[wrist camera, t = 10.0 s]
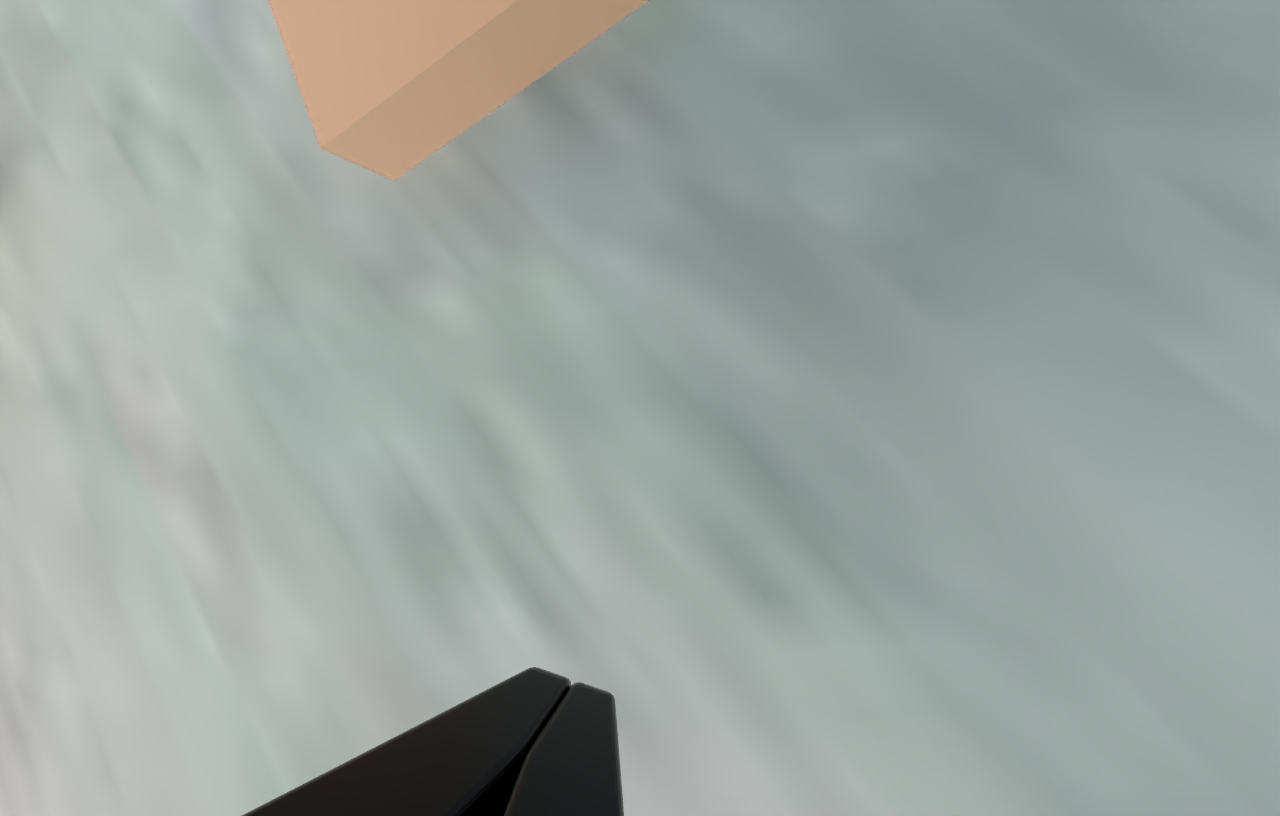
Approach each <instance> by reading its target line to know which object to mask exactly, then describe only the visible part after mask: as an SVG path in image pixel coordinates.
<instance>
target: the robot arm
mask: <svg viewBox="0 0 1280 816" xmlns="http://www.w3.org/2000/svg"><path fill="white" fill-rule="evenodd" d="M242 816H624V810H623V797H622V785H621V772H620V759H619V746H618V733H617V720H616V707H615V699H614V696H613V695H612V694H611V693H609V692H607V691H604V690H601V689H598V688H595V687H592V686H589V685H586V684H584V683H579V682H578V683H575V684H573V685H572V686H571V682H570V680H569V679H568V678H566V677H563V676H560V675H557V674H555V673H552V672H549V671H546V670H543V669H540V668H536V667H533V668H529V669H527V670H525V671H523V672H521V673H519V674H517V675H515V676H513V677H511V678H509V679H507V680H505V681H503V682H501V683H499V684H497V685H495V686H493V687H491V688H490V689H488V690H486V691H484V692H482V693H480V694H478V695H476V696H474V697H472V698H470V699H468V700H466V701H464V702H462V703H460V704H458V705H456V706H455V707H453V708H451V709H449V710H447V711H445V712H443V713H441V714H439V715H437V716H435V717H433V718H431V719H429V720H427V721H425V722H423V723H421V724H419V725H418V726H416V727H414V728H412V729H410V730H408V731H406V732H404V733H402V734H400V735H398V736H396V737H394V738H392V739H390V740H388V741H386V742H384V743H382V744H381V745H379V746H377V747H375V748H373V749H371V750H369V751H367V752H365V753H363V754H361V755H359V756H357V757H355V758H353V759H351V760H349V761H347V762H345V763H344V764H342V765H340V766H338V767H336V768H334V769H332V770H330V771H328V772H326V773H324V774H322V775H320V776H318V777H316V778H314V779H312V780H310V781H309V782H307V783H305V784H303V785H301V786H299V787H297V788H295V789H293V790H291V791H289V792H287V793H285V794H283V795H281V796H279V797H277V798H275V799H273V800H272V801H270V802H268V803H266V804H264V805H262V806H260V807H258V808H256V809H254V810H252V811H250V812H248V813H246V814H244V815H242Z"/></svg>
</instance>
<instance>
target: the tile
mask: <svg viewBox="0 0 1280 816" xmlns="http://www.w3.org/2000/svg"><path fill="white" fill-rule="evenodd" d="M648 1H649V0H269V3H270V6H271V9H272V11H273V14H274V17H275V20H276V23H277V26H278V28H279V31H280V34H281V37H282V40H283V43H284V46H285V48H286V51H287V54H288V57H289V60H290V63H291V65H292V68H293V71H294V74H295V77H296V80H297V83H298V85H299V88H300V91H301V94H302V97H303V100H304V102H305V105H306V108H307V111H308V114H309V117H310V120H311V122H312V125H313V128H314V131H315V134H316V137H317V139H318V142H319V145H320V148H321V149H324V150H326V151H328V152H330V153H332V154H335V155H337V156H339V157H341V158H344V159H346V160H348V161H350V162H352V163H355V164H357V165H359V166H361V167H363V168H366V169H368V170H370V171H372V172H375V173H377V174H379V175H381V176H383V177H386V178H388V179H390V180H392V181H395V180H397V179H398V178H400V177H401V176H402V175H404V174H405V173H407V172H408V171H409V170H411V169H412V168H414V167H415V166H417V165H418V164H419V163H421V162H422V161H424V160H425V159H426V158H428V157H429V156H431V155H432V154H433V153H435V152H436V151H438V150H439V149H441V148H442V147H443V146H445V145H446V144H448V143H449V142H450V141H452V140H453V139H455V138H456V137H457V136H459V135H460V134H462V133H463V132H465V131H466V130H467V129H469V128H470V127H472V126H473V125H474V124H476V123H477V122H479V121H480V120H481V119H483V118H484V117H486V116H487V115H489V114H490V113H491V112H493V111H494V110H496V109H497V108H498V107H500V106H501V105H503V104H504V103H505V102H507V101H508V100H510V99H511V98H513V97H514V96H515V95H517V94H518V93H520V92H521V91H522V90H524V89H525V88H527V87H528V86H529V85H531V84H532V83H534V82H535V81H537V80H538V79H539V78H541V77H542V76H544V75H545V74H546V73H548V72H549V71H551V70H552V69H553V68H555V67H556V66H558V65H559V64H561V63H562V62H563V61H565V60H566V59H568V58H569V57H570V56H572V55H573V54H575V53H576V52H577V51H579V50H580V49H582V48H583V47H585V46H586V45H587V44H589V43H590V42H592V41H593V40H594V39H596V38H597V37H599V36H600V35H601V34H603V33H604V32H606V31H607V30H609V29H610V28H611V27H613V26H614V25H616V24H617V23H618V22H620V21H621V20H623V19H624V18H625V17H627V16H628V15H630V14H631V13H633V12H634V11H635V10H637V9H638V8H640V7H641V6H642V5H644V4H645V3H647V2H648Z"/></svg>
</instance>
